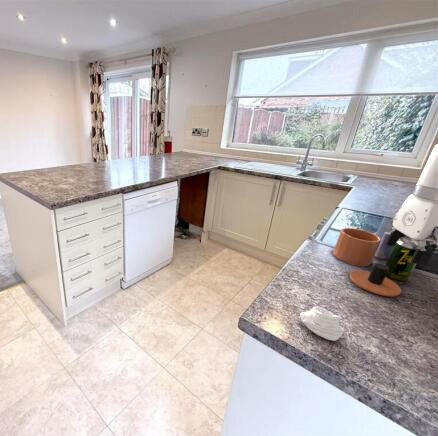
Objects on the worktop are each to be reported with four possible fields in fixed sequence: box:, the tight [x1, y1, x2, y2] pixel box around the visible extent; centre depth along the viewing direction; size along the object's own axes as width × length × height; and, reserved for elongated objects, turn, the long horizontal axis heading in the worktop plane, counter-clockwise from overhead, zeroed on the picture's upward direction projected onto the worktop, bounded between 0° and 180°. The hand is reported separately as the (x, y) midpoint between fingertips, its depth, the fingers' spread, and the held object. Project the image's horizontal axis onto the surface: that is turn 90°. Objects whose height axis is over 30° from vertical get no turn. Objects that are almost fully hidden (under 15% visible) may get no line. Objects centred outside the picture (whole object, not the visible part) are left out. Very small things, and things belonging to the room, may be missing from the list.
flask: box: [374, 231, 419, 261], centre depth 78 cm, size 9×3×11 cm, turn 74°
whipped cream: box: [299, 306, 346, 342], centre depth 53 cm, size 8×7×5 cm
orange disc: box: [349, 262, 402, 297], centre depth 66 cm, size 11×11×6 cm
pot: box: [333, 227, 382, 267], centre depth 79 cm, size 10×10×8 cm
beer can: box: [385, 237, 420, 285], centre depth 68 cm, size 5×5×12 cm
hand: (404, 253), depth 67 cm, fingers open, 9 cm apart
